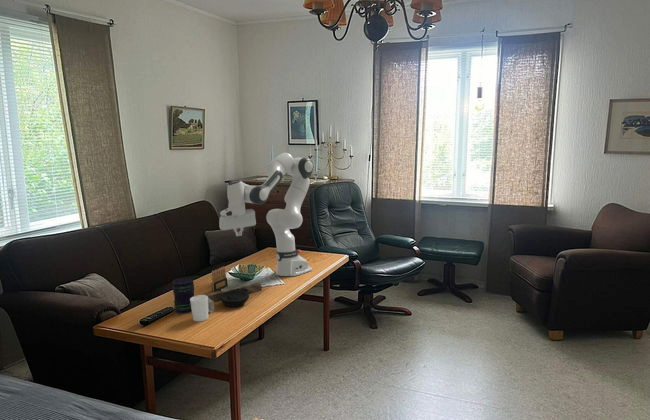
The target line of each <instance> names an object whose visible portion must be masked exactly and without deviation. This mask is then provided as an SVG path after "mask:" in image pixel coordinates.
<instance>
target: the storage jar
mask: <svg viewBox="0 0 650 420" xmlns="http://www.w3.org/2000/svg"><path fill="white" fill-rule="evenodd" d="M194 282H195V281H194V278H193V277H187V276H186V277H179V278H176V279H173V280H172V293H173V296H174V300H173V303H174V304H173V305H174V306H173V307H174V310H175V311H174V312H175V313H176V314H178V313H179V314H180V315H181V314H182V315H183V314H189V313H192V310H191V303H190V298H192V297H194V296H195V283H194Z"/></svg>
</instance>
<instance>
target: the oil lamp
mask: <svg viewBox="0 0 650 420" xmlns="http://www.w3.org/2000/svg"><path fill="white" fill-rule="evenodd" d="M236 288H237V287H236ZM247 291H248V289H245V288H237V290H232V291H228V292H225V293H222V294H221V295H219V299H220V302H221V303H222V304H223V305H225V306H226V307H240V306H242V305H244V304H245V303H247V301H248V299H249V298H250V294H249V293H248V294H247V293H246V292H247Z"/></svg>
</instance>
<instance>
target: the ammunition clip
mask: <svg viewBox="0 0 650 420" xmlns="http://www.w3.org/2000/svg"><path fill="white" fill-rule="evenodd" d="M226 272H227V271H226V267H225V265H223V266H220V267H219V268H216V269H214V270H213V269H212V271H211V293H216V292H219V291H221V290H222V289H223V290H224V289H225V288H226V287H228V286H229V285H228V278H227V273H226Z"/></svg>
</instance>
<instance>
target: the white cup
mask: <svg viewBox="0 0 650 420" xmlns="http://www.w3.org/2000/svg"><path fill="white" fill-rule="evenodd" d="M206 295H207V294H198V295H194V297H192V298H190V303H191V310H192V312H191V314H192V321H194V322H203V321H206V320H208V319H209V311H208V296H206Z"/></svg>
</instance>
